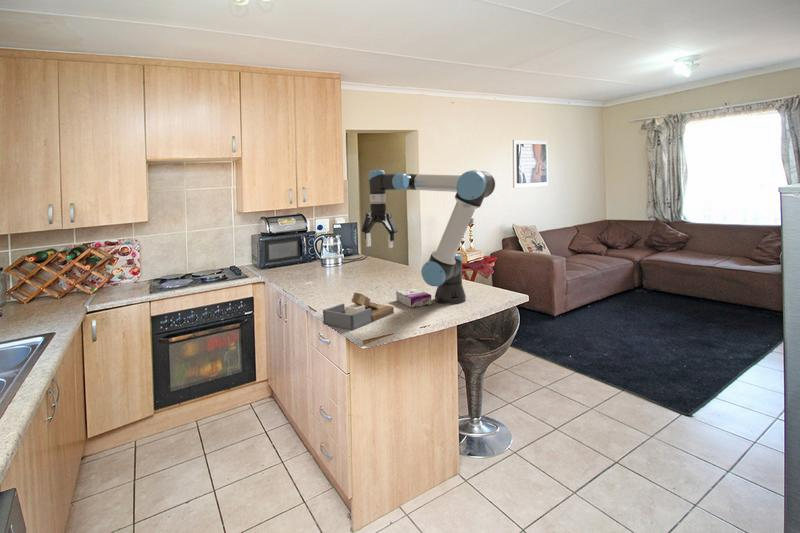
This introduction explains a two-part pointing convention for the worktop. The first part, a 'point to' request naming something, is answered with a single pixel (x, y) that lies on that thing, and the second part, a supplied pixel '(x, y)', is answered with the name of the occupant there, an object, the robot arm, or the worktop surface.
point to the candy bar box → (413, 297)
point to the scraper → (364, 301)
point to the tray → (346, 318)
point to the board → (381, 312)
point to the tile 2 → (354, 308)
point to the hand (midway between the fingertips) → (379, 247)
